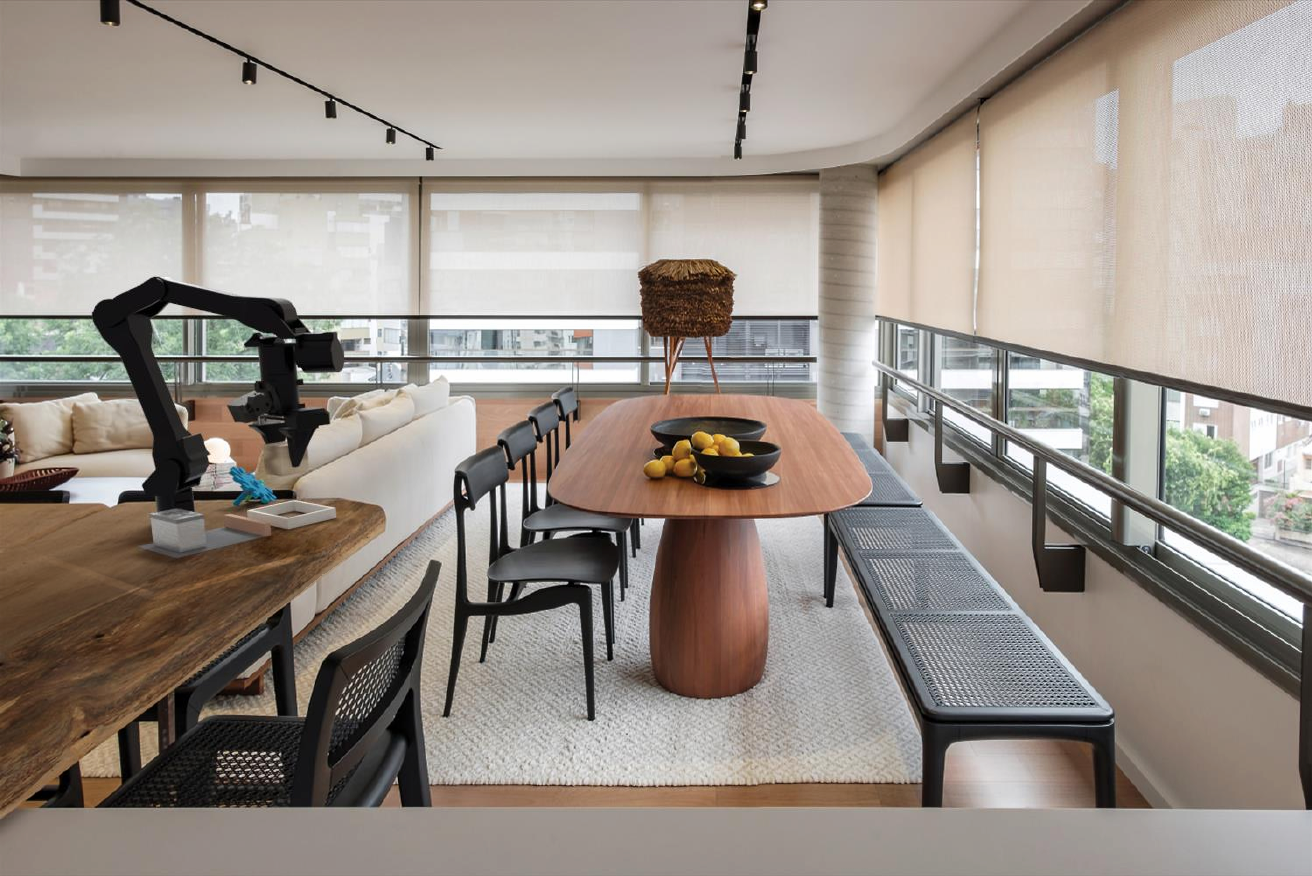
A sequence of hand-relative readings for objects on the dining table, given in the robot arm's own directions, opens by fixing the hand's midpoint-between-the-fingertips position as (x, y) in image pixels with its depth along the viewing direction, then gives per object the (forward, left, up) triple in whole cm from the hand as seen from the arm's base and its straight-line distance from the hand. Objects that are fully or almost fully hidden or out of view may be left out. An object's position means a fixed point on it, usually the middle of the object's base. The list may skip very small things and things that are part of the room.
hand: (286, 465), depth 151 cm
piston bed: (+1, -15, -10) cm, 18 cm away
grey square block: (+1, -19, -10) cm, 22 cm away
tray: (0, 0, -10) cm, 10 cm away
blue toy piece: (-20, +5, -10) cm, 23 cm away
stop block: (0, 0, -1) cm, 1 cm away
